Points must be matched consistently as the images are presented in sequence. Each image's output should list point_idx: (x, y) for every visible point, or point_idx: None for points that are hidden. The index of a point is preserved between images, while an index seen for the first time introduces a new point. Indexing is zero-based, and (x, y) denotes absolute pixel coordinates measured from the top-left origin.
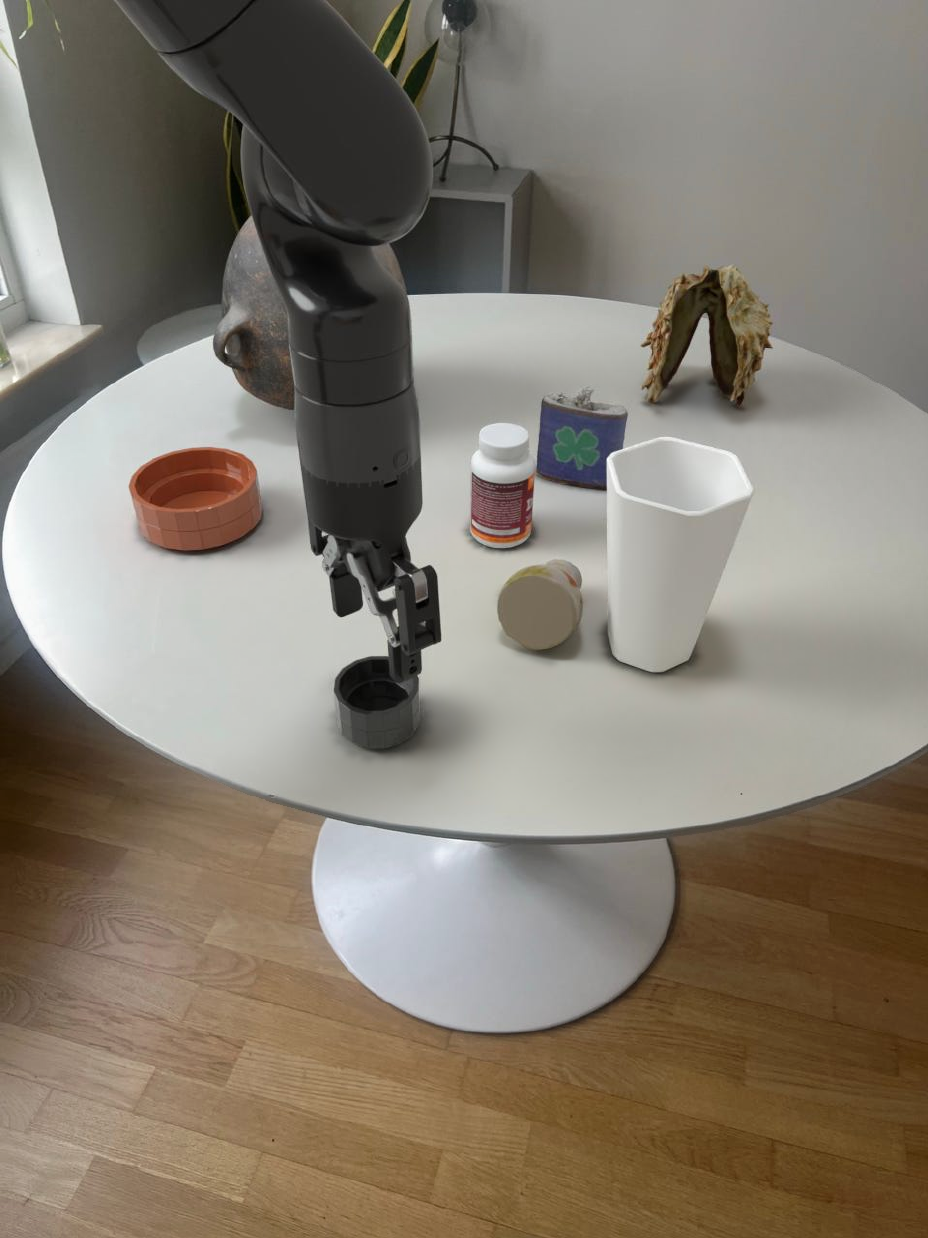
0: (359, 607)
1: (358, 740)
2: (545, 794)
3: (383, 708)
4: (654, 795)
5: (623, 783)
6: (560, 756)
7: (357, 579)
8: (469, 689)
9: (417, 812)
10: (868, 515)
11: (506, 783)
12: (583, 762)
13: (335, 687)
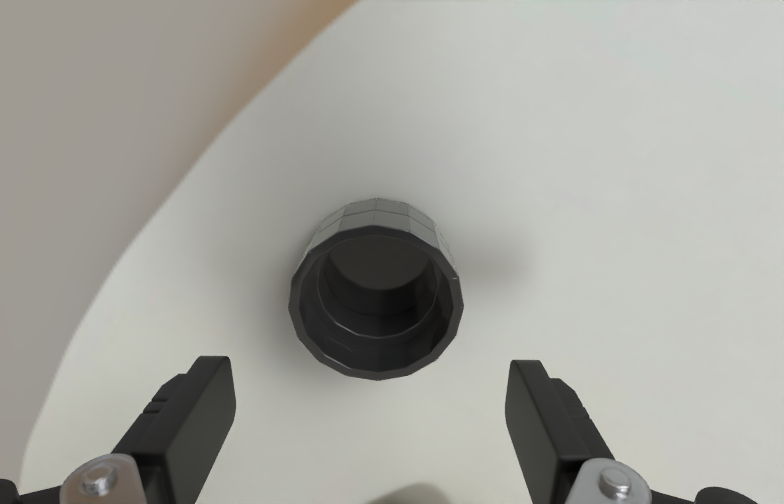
0: (507, 414)
1: (337, 213)
2: (127, 379)
3: (395, 285)
4: None
5: None
6: None
7: (534, 496)
8: (365, 405)
9: (172, 218)
10: None
11: (168, 350)
12: None
13: (416, 238)
